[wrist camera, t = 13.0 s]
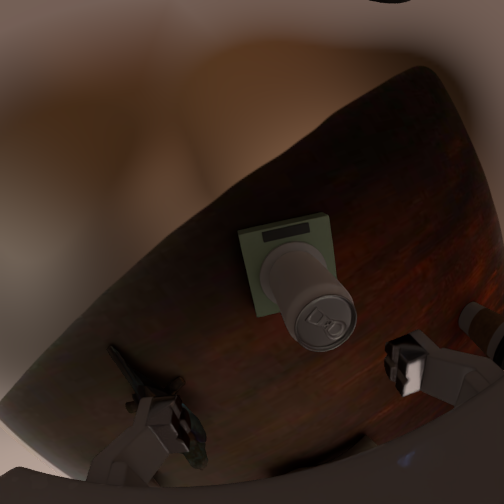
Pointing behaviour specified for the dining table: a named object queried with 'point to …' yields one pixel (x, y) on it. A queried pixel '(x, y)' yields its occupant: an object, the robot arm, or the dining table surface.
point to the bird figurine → (151, 389)
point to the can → (312, 302)
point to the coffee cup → (484, 330)
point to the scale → (283, 252)
